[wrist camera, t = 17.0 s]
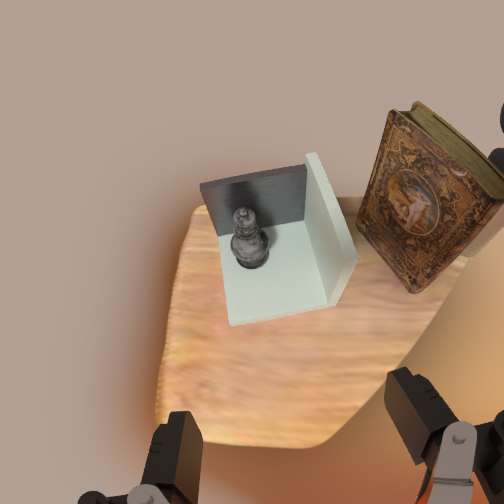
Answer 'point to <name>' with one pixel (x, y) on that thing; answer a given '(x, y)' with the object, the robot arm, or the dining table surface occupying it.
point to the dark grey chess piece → (249, 240)
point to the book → (426, 196)
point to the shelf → (283, 241)
